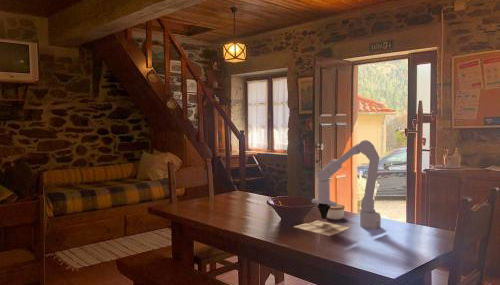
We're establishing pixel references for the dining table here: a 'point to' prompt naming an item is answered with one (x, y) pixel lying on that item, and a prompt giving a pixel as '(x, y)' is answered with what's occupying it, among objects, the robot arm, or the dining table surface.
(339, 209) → the lidded jar
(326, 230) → the thin wooden board
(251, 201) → the dining table surface
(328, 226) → the board
